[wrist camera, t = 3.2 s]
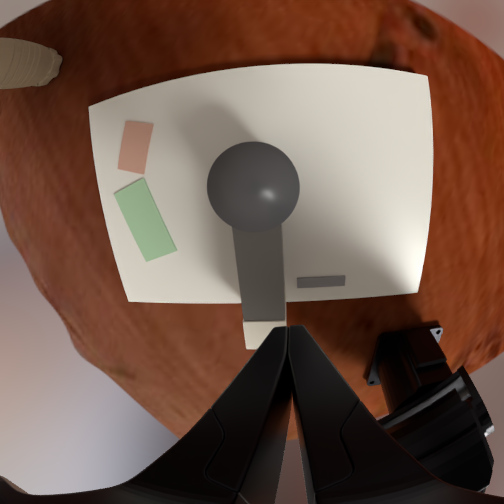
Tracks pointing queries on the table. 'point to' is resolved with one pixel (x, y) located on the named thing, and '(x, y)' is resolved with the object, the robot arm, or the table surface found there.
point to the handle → (26, 63)
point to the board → (303, 158)
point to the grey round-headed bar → (256, 227)
